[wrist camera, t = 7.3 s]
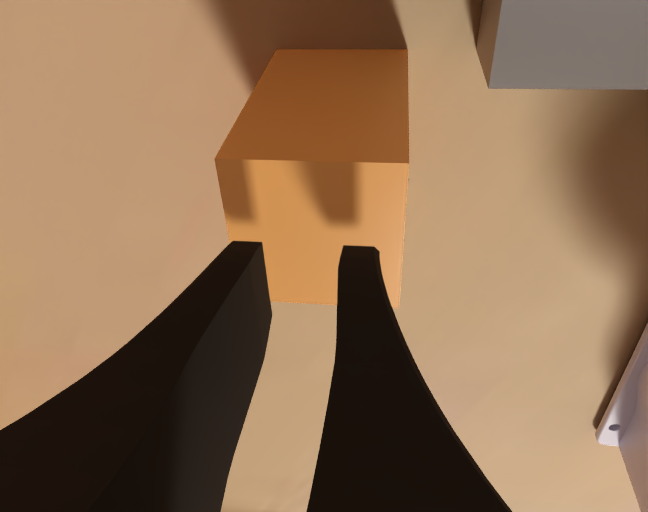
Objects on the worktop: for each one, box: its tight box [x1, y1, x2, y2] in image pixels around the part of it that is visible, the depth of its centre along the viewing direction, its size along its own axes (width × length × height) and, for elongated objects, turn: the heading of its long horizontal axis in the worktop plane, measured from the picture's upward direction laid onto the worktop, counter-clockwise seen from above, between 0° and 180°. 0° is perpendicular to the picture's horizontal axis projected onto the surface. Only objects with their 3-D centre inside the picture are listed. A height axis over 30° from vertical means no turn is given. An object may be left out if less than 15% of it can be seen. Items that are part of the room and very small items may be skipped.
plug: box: [215, 49, 409, 308], centre depth 15 cm, size 4×4×7 cm
